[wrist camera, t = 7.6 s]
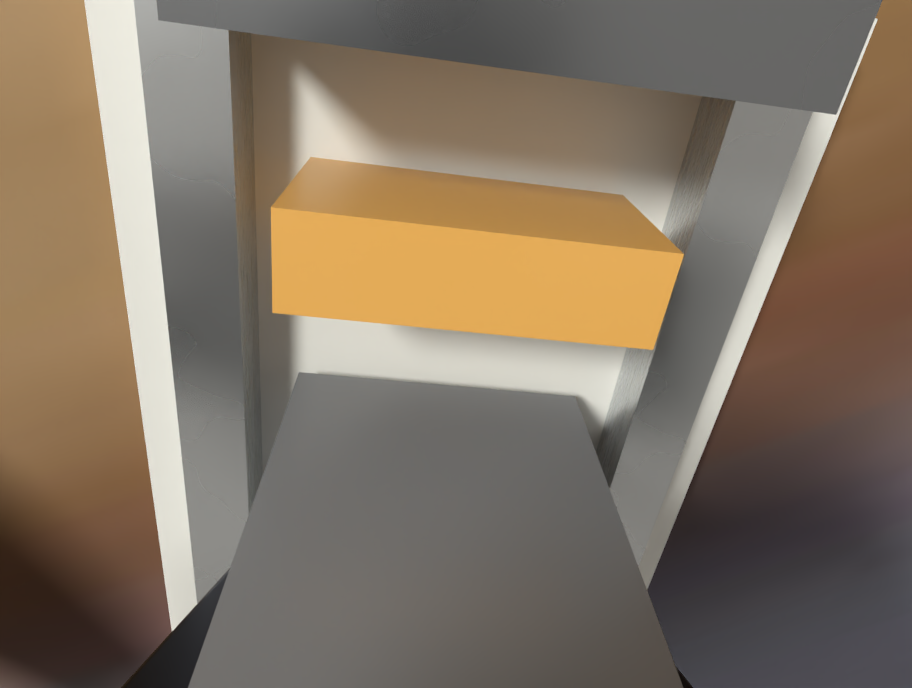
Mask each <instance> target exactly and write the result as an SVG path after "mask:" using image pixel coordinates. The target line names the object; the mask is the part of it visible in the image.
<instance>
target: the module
mask: <svg viewBox="0 0 912 688" xmlns="http://www.w3.org/2000/svg"><path fill="white" fill-rule="evenodd" d="M188 688H683V685H682V683H681V680H680V677H679V675H678V672H677V669H676V667H675V664H674V661H673V659H672V656H671V653H670V650H669V648H668V645H667V642H666V640H665V637H664V634H663V632H662V629H661V626H660V624H659V621H658V618H657V616H656V613H655V610H654V607H653V605H652V602H651V599H650V597H649V594H648V591H647V589H646V586H645V583H644V581H643V578H642V575H641V572H640V570H639V567H638V564H637V562H636V559H635V556H634V554H633V551H632V548H631V546H630V543H629V540H628V538H627V535H626V532H625V529H624V527H623V524H622V521H621V519H620V516H619V513H618V511H617V508H616V505H615V503H614V500H613V497H612V494H611V492H610V489H609V486H608V484H607V481H606V478H605V476H604V473H603V470H602V468H601V465H600V462H599V459H598V457H597V454H596V451H595V449H594V446H593V443H592V441H591V438H590V435H589V433H588V430H587V427H586V425H585V422H584V419H583V416H582V414H581V411H580V408H579V406H578V403H577V400H576V398H575V396H567V395H555V394H544V393H533V392H521V391H510V390H498V389H487V388H475V387H464V386H452V385H441V384H429V383H418V382H407V381H395V380H384V379H372V378H361V377H349V376H338V375H326V374H315V373H304V372H299V373H298V376H297V379H296V382H295V385H294V387H293V390H292V393H291V396H290V399H289V402H288V405H287V407H286V410H285V413H284V416H283V419H282V422H281V424H280V427H279V430H278V433H277V436H276V439H275V442H274V444H273V447H272V450H271V453H270V456H269V459H268V461H267V464H266V467H265V470H264V473H263V476H262V479H261V481H260V484H259V487H258V490H257V493H256V496H255V498H254V501H253V504H252V507H251V510H250V513H249V516H248V518H247V521H246V524H245V527H244V530H243V533H242V535H241V538H240V541H239V544H238V547H237V550H236V553H235V555H234V558H233V561H232V564H231V567H230V570H229V572H228V575H227V578H226V581H225V584H224V587H223V590H222V592H221V595H220V598H219V601H218V604H217V607H216V609H215V612H214V615H213V618H212V621H211V624H210V627H209V629H208V632H207V635H206V638H205V641H204V644H203V646H202V649H201V652H200V655H199V658H198V661H197V664H196V666H195V669H194V672H193V675H192V678H191V681H190V683H189V686H188Z"/></svg>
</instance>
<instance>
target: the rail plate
mask: <svg viewBox="0 0 912 688" xmlns="http://www.w3.org/2000/svg"><path fill="white" fill-rule="evenodd" d="M84 1H85V8H86V16H87V23H88V30H89V37H90V44H91V52H92V59H93V66H94V73H95V81H96V88H97V95H98V102H99V109H100V117H101V124H102V131H103V138H104V145H105V153H106V160H107V167H108V174H109V182H110V189H111V196H112V203H113V210H114V218H115V225H116V232H117V239H118V247H119V254H120V261H121V268H122V275H123V283H124V290H125V297H126V304H127V311H128V319H129V326H130V333H131V340H132V348H133V355H134V362H135V369H136V376H137V384H138V391H139V398H140V405H141V412H142V420H143V427H144V434H145V441H146V449H147V456H148V463H149V470H150V477H151V485H152V492H153V499H154V506H155V513H156V521H157V528H158V535H159V542H160V550H161V557H162V564H163V571H164V578H165V586H166V593H167V600H168V607H169V615H170V622H171V629H172V631H173V630H174V629H175V628H176V627H177V626H178V625H179V623H180V622H181V621H182V620H183V619H184V618H185V617H186V616H187V615H188V614H189V612H190V611H191V610H192V609H193V608H194V607H195V606H196V605H197V604H198V602H199V601H200V600H201V599H202V598H203V597H204V596H205V595H206V594H207V593H208V591H209V590H210V589H211V588H212V587H213V586H214V585H215V584H216V583H217V582H218V580H219V579H220V578H221V577H222V576H223V575H224V574H225V573H226V572H227V570H228V569H229V568H230V567H231V564H232V561H233V558H234V555H235V553H236V550H237V547H238V544H239V541H240V538H241V535H242V533H243V530H244V527H245V524H246V521H247V518H248V516H249V513H250V510H251V507H252V504H253V501H254V498H255V496H256V493H257V490H258V487H259V484H260V481H261V479H262V476H263V473H264V470H265V467H266V464H267V461H268V459H269V456H270V453H271V450H272V447H273V444H274V442H275V439H276V436H277V433H278V430H279V427H280V424H281V422H282V419H283V416H284V413H285V410H286V407H287V405H288V402H289V399H290V396H291V393H292V390H293V387H294V385H295V382H296V379H297V376H298V373H299V372H304V373H315V374H326V375H338V376H349V377H361V378H372V379H384V380H395V381H407V382H418V383H429V384H441V385H452V386H464V387H475V388H487V389H498V390H510V391H521V392H533V393H544V394H555V395H567V396H575V398H576V400H577V403H578V406H579V408H580V411H581V414H582V416H583V419H584V422H585V425H586V427H587V430H588V433H589V435H590V438H591V441H592V443H593V446H594V449H595V451H596V454H597V457H598V459H599V462H600V465H601V468H602V470H603V473H604V476H605V478H606V481H607V484H608V486H609V489H610V492H611V494H612V497H613V500H614V503H615V505H616V508H617V511H618V513H619V516H620V519H621V521H622V524H623V527H624V529H625V532H626V535H627V538H628V540H629V543H630V546H631V548H632V551H633V554H634V556H635V559H636V562H637V564H638V567H639V570H640V572H641V575H642V578H643V581H644V583H645V586H646V589H648V587H649V584H650V582H651V579H652V577H653V574H654V572H655V569H656V567H657V565H658V562H659V560H660V557H661V555H662V552H663V550H664V547H665V545H666V542H667V540H668V537H669V535H670V532H671V530H672V527H673V525H674V522H675V520H676V517H677V515H678V513H679V510H680V508H681V505H682V503H683V500H684V498H685V495H686V493H687V490H688V488H689V485H690V483H691V480H692V478H693V475H694V473H695V470H696V468H697V465H698V463H699V461H700V458H701V456H702V453H703V451H704V448H705V446H706V443H707V441H708V438H709V436H710V433H711V431H712V428H713V426H714V423H715V421H716V418H717V416H718V413H719V411H720V409H721V406H722V404H723V401H724V399H725V396H726V394H727V391H728V389H729V386H730V384H731V381H732V379H733V376H734V374H735V371H736V369H737V366H738V364H739V361H740V359H741V357H742V354H743V352H744V349H745V347H746V344H747V342H748V339H749V337H750V334H751V332H752V329H753V327H754V324H755V322H756V319H757V317H758V314H759V312H760V309H761V307H762V305H763V302H764V300H765V297H766V295H767V292H768V290H769V287H770V285H771V282H772V280H773V277H774V275H775V272H776V270H777V267H778V265H779V262H780V260H781V257H782V255H783V253H784V250H785V248H786V245H787V243H788V240H789V238H790V235H791V233H792V230H793V228H794V225H795V223H796V220H797V218H798V215H799V213H800V210H801V208H802V205H803V203H804V201H805V198H806V196H807V193H808V191H809V188H810V186H811V183H812V181H813V178H814V176H815V173H816V171H817V168H818V166H819V163H820V161H821V158H822V156H823V153H824V151H825V149H826V146H827V144H828V141H829V139H830V136H831V134H832V131H833V129H834V126H835V124H836V121H837V119H838V116H839V114H840V111H841V109H842V106H843V104H844V101H845V99H846V97H847V94H848V92H849V89H850V87H851V84H852V82H853V79H854V77H855V74H856V72H857V69H858V67H859V64H860V62H861V59H862V57H863V54H864V52H865V49H866V47H867V45H868V42H869V40H870V37H871V35H872V32H873V30H874V27H875V25H876V22H877V20H878V19H876V18H875V17H876V15H877V12H878V10H879V7H880V5H881V2H882V0H84ZM310 157H316V158H324V159H332V160H340V161H349V162H357V163H365V164H373V165H381V166H390V167H398V168H406V169H414V170H423V171H431V172H439V173H447V174H455V175H464V176H472V177H480V178H488V179H496V180H505V181H513V182H521V183H529V184H538V185H546V186H554V187H562V188H570V189H579V190H587V191H595V192H603V193H611V194H620V195H624V196H625V197H626V198H627V199H628V200H629V201H630V202H631V203H632V204H633V205H634V206H635V207H636V208H637V209H638V210H639V211H640V212H641V213H642V214H643V215H644V216H645V217H646V218H647V219H648V220H649V221H650V222H651V223H653V224H654V225H655V226H656V227H657V228H658V229H659V230H660V231H661V232H662V233H663V234H664V235H665V236H666V237H667V238H668V239H669V240H670V241H671V242H672V243H673V244H674V245H675V246H676V247H677V248H678V249H679V250H680V251H681V252H682V253H684V256H683V259H682V262H681V265H680V269H679V272H678V275H677V278H676V281H675V284H674V287H673V290H672V293H671V296H670V299H669V303H668V306H667V309H666V312H665V315H664V318H663V321H662V324H661V327H660V330H659V334H658V337H657V340H656V343H655V346H654V349H653V350H648V349H638V348H628V347H617V346H607V345H597V344H587V343H576V342H566V341H556V340H545V339H535V338H525V337H515V336H504V335H494V334H484V333H473V332H463V331H453V330H443V329H432V328H422V327H412V326H401V325H391V324H381V323H370V322H360V321H350V320H340V319H329V318H319V317H309V316H298V315H288V314H278V313H272V252H271V206H272V205H273V204H274V203H275V201H276V200H277V199H278V198H279V196H280V195H281V194H282V193H283V191H284V190H285V189H286V187H287V186H288V185H289V184H290V182H291V181H292V180H293V179H294V177H295V176H296V175H297V174H298V172H299V171H300V170H301V168H302V167H303V166H304V165H305V163H306V162H307V161H308V160H309V158H310Z"/></svg>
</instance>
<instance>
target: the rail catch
mask: <svg viewBox="0 0 912 688" xmlns="http://www.w3.org/2000/svg"><path fill="white" fill-rule="evenodd" d="M271 252H272V313H278V314H288V315H298V316H309V317H319V318H329V319H340V320H350V321H360V322H370V323H381V324H391V325H401V326H412V327H422V328H432V329H443V330H453V331H463V332H473V333H484V334H494V335H504V336H515V337H525V338H535V339H545V340H556V341H566V342H576V343H587V344H597V345H607V346H617V347H628V348H638V349H648V350H653V349H654V346H655V343H656V340H657V337H658V334H659V330H660V327H661V324H662V321H663V318H664V315H665V312H666V309H667V306H668V303H669V299H670V296H671V293H672V290H673V287H674V284H675V281H676V278H677V275H678V272H679V269H680V265H681V262H682V259H683V256H684V253H682V252H681V251H680V250H679V249H678V248H677V247H676V246H675V245H674V244H673V243H672V242H671V241H670V240H669V239H668V238H667V237H666V236H665V235H664V234H663V233H662V232H661V231H660V230H659V229H658V228H657V227H656V226H655V225H654V224H653V223H651V222H650V221H649V220H648V219H647V218H646V217H645V216H644V215H643V214H642V213H641V212H640V211H639V210H638V209H637V208H636V207H635V206H634V205H633V204H632V203H631V202H630V201H629V200H628V199H627V198H626V197H625V196H624V195H620V194H611V193H603V192H595V191H587V190H579V189H570V188H562V187H554V186H546V185H538V184H529V183H521V182H513V181H505V180H496V179H488V178H480V177H472V176H464V175H455V174H447V173H439V172H431V171H423V170H414V169H406V168H398V167H390V166H381V165H373V164H365V163H357V162H349V161H340V160H332V159H324V158H316V157H310V158H309V160H308V161H307V162H306V163H305V165H304V166H303V167H302V168H301V170H300V171H299V172H298V174H297V175H296V176H295V177H294V179H293V180H292V181H291V182H290V184H289V185H288V186H287V187H286V189H285V190H284V191H283V193H282V194H281V195H280V196H279V198H278V199H277V200H276V201H275V203H274V204H273V205H272V206H271Z"/></svg>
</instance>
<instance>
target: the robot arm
mask: <svg viewBox="0 0 912 688" xmlns="http://www.w3.org/2000/svg"><path fill="white" fill-rule="evenodd" d="M229 570H230V568H229V569H228V570H227V572H226V573H225V574H224V575H223V576H222V577H221V578H220V579H219V580H218V582H217V583H216V584H215V585H214V586H213V587H212V588H211V589H210V590H209V591H208V593H207V594H206V595H205V596H204V597H203V598H202V599H201V600H200V601H199V602H198V604H197V605H196V606H195V607H194V608H193V609H192V610H191V611H190V612H189V614H188V615H187V616H186V617H185V618H184V619H183V620H182V621H181V622H180V623H179V625H178V626H177V627H176V628H175V629H174V630H173V631H172V632H171V633H170V634H169V636H168V637H167V638H166V639H165V640H164V641H163V642H162V643H161V644H160V646H159V647H158V648H157V649H156V650H155V651H154V652H153V653H152V654H151V655H150V657H149V658H148V659H147V660H146V661H145V662H144V663H143V664H142V665H141V666H140V668H139V669H138V670H137V671H136V672H135V673H134V674H133V675H132V676H131V678H130V679H129V680H128V681H127V682H126V683H125V684H124V685H123V686H122V687H121V688H188V686H189V683H190V681H191V678H192V675H193V672H194V669H195V666H196V664H197V661H198V658H199V655H200V652H201V649H202V646H203V644H204V641H205V638H206V635H207V632H208V629H209V627H210V624H211V621H212V618H213V615H214V612H215V609H216V607H217V604H218V601H219V598H220V595H221V592H222V590H223V587H224V584H225V581H226V578H227V575H228V572H229ZM675 667H676V666H675ZM676 669H677V667H676ZM677 672H678V675H679V677H680V680H681V683H682V685H683V688H693V687H692V686H691V684H690V683H689V682H688V681H687V680H686V678H685V677H684V676H683V675H682V673H681V672H680V671H679V670H678V669H677Z"/></svg>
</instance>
